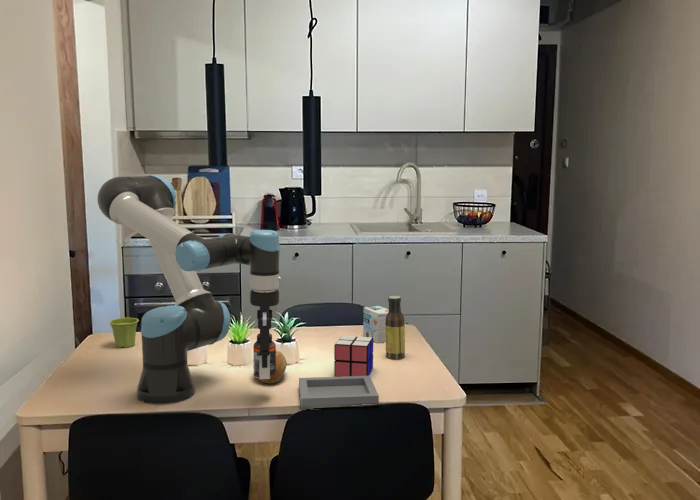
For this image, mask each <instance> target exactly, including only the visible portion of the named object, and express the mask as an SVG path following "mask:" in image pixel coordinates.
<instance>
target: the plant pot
mask: <svg viewBox="0 0 700 500" xmlns="http://www.w3.org/2000/svg"><path fill="white" fill-rule="evenodd" d="M139 321H140V320H139V318H136V317H122V318H121V317H120V318H115V319H114V318H113V319H112V320H110V321H109V322H108V323H109V325H110V326H111V327H110V328H111V329H112V335H113V337H114V343H115V347H117V348H131V347H134V345H135V344H136V333H137V326H138V323H139Z"/></svg>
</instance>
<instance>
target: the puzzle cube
mask: <svg viewBox="0 0 700 500" xmlns="http://www.w3.org/2000/svg"><path fill="white" fill-rule="evenodd" d="M333 350H334V352H333V353H334V355H333V357H334V363H333V365H334V367H333V369H334V371H333V372H334V373H333V375H334V376H333V377H335V376H336V377H342V376H370V374H371V372H372V371H373V369H374V354H373V353H374V341H373V338H372V337H364V336H357V335H356V336H355V335H341V336H340V337H339V338H338V340H337V341H336V342H335V343H334V347H333Z"/></svg>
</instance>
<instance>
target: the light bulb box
mask: <svg viewBox="0 0 700 500" xmlns="http://www.w3.org/2000/svg"><path fill="white" fill-rule="evenodd" d="M388 312H389V308H386V307H383V306H380V305H376V306H375V305H374V306H365V307H363V313H362V314H363V317H362V318H363V320H362V321H363V323H362V326H363V328H362V329H363V330H362V337H372V338H373V343H376V344H382V343H384V344H385V343H386V337H385V321H386V316H387V314H388Z"/></svg>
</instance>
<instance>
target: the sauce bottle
mask: <svg viewBox="0 0 700 500" xmlns="http://www.w3.org/2000/svg"><path fill="white" fill-rule="evenodd" d="M401 302H402V298H401V296H399V295H390V296H388V310H389V312H388V314H387V316H386V321H385V337H386V342H385V355H386V358H388V359H390V360H401V359H403V358H404V357H405V355H406V353H405V352H406V344H405V342H406V340H405V339H406V338H405V337H406V336H405V335H406V333H405V332H406V331H405V330H406V328H405V316H404V314H403V313H402V308H401Z"/></svg>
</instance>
